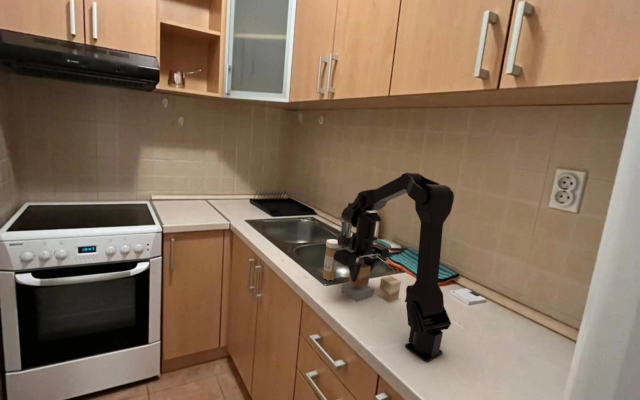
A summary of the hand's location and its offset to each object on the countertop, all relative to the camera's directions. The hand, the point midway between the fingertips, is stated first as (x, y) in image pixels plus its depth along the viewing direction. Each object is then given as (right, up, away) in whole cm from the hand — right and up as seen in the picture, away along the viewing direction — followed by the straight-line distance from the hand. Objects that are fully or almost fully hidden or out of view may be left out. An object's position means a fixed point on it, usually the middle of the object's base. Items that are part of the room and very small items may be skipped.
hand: (358, 279), depth 107 cm
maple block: (+9, -6, +1) cm, 11 cm away
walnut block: (0, -1, 0) cm, 1 cm away
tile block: (-1, -5, +1) cm, 5 cm away
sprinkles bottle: (-9, -2, +11) cm, 14 cm away
